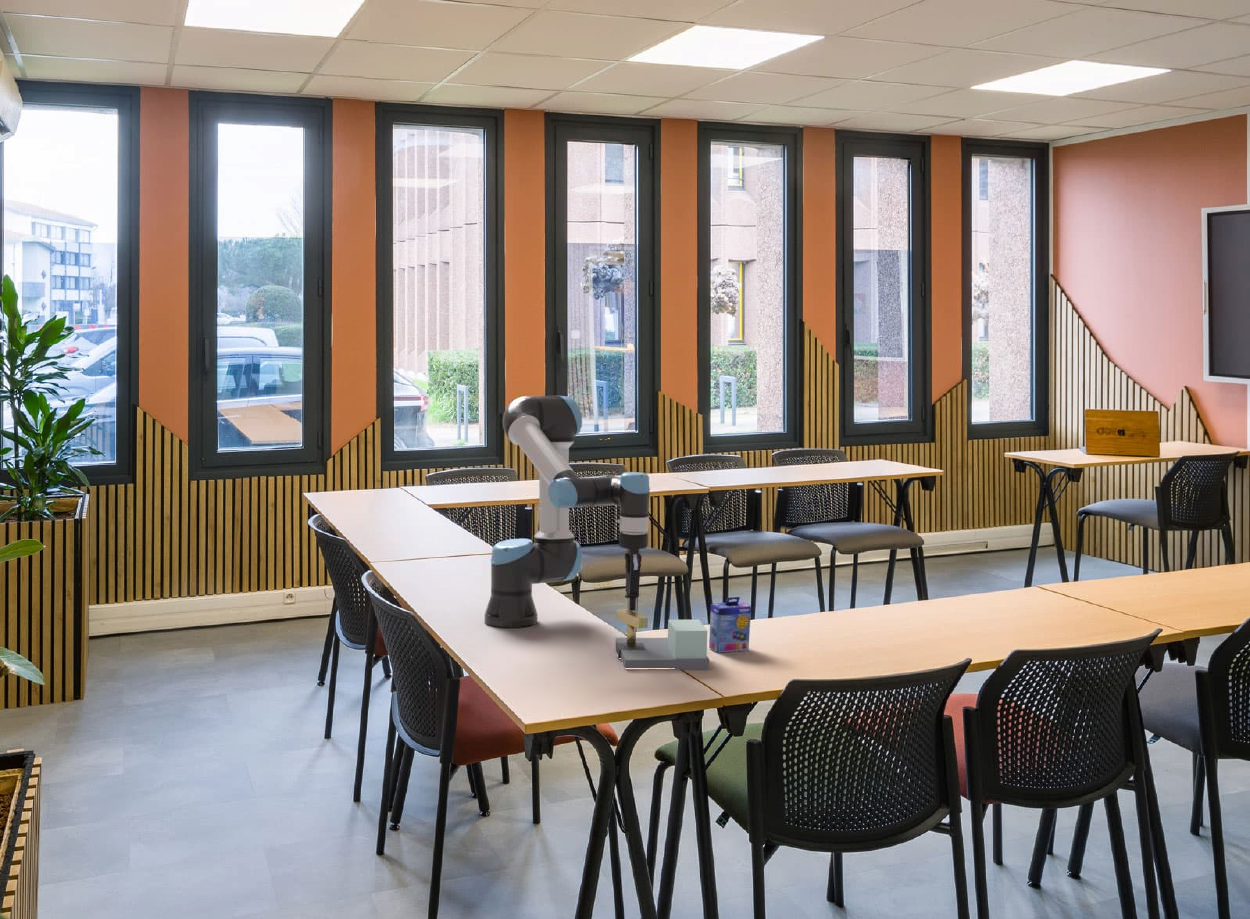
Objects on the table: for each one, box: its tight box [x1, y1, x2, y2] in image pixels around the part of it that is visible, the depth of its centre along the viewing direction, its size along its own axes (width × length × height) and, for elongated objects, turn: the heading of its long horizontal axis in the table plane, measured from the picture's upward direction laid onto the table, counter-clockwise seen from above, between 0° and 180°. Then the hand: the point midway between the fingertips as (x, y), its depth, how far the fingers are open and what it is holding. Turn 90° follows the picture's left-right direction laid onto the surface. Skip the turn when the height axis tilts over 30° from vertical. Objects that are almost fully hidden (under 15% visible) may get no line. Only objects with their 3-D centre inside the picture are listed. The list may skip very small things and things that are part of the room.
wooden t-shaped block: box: [615, 608, 649, 646], centre depth 299 cm, size 3×11×8 cm, turn 32°
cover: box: [667, 619, 709, 659], centre depth 295 cm, size 12×8×7 cm, turn 7°
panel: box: [615, 637, 710, 671], centre depth 299 cm, size 22×22×3 cm
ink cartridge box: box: [708, 596, 752, 654], centre depth 309 cm, size 10×6×14 cm, turn 113°
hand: (631, 621), depth 304 cm, fingers closed
